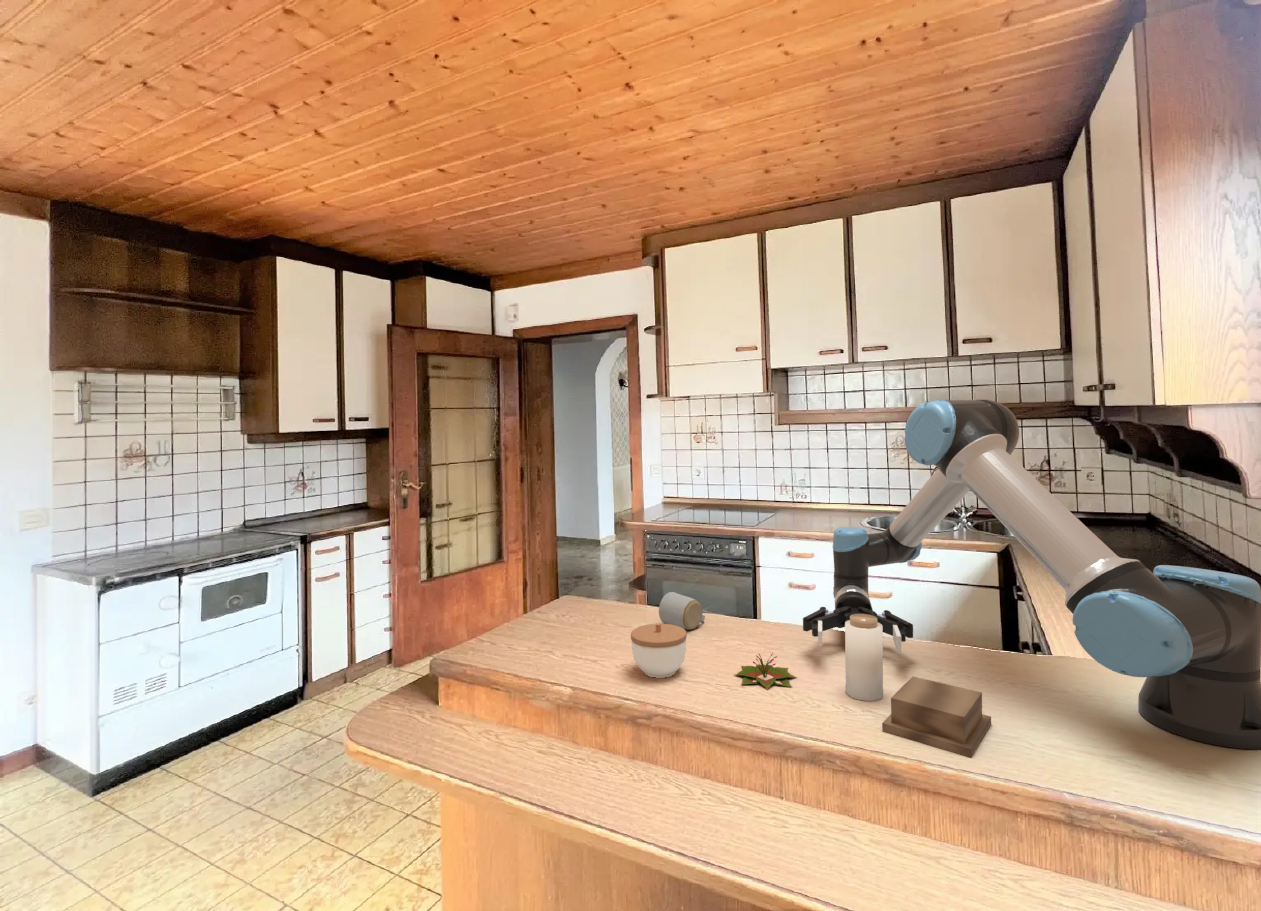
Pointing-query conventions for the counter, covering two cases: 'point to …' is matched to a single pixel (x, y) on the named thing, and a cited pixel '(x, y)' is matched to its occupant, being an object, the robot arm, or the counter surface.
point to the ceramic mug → (680, 611)
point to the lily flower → (765, 669)
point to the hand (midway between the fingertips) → (859, 641)
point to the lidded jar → (659, 649)
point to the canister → (864, 657)
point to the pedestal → (938, 715)
